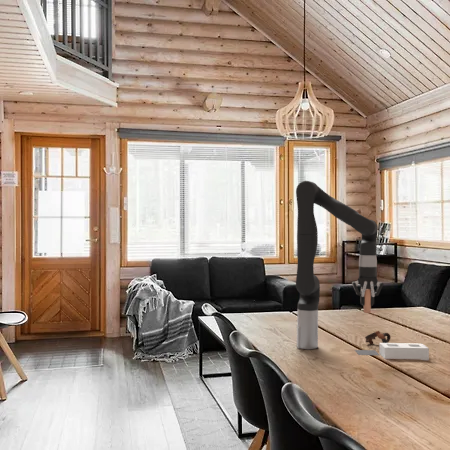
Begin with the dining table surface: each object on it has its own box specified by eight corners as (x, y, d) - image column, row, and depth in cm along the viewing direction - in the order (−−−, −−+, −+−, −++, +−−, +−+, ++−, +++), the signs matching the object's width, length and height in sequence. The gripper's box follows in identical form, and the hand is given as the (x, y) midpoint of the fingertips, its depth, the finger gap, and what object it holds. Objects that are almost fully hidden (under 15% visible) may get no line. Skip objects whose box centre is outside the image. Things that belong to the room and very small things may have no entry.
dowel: (364, 312, 235) (364, 289, 235) (362, 311, 238) (363, 288, 238) (371, 313, 235) (371, 289, 235) (369, 311, 238) (370, 289, 238)
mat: (358, 355, 232) (358, 354, 232) (354, 350, 241) (354, 349, 241) (379, 356, 231) (379, 355, 231) (374, 351, 240) (374, 350, 240)
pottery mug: (378, 351, 243) (369, 334, 245) (367, 356, 251) (359, 339, 254) (398, 342, 248) (389, 325, 250) (387, 347, 256) (379, 331, 258)
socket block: (384, 359, 225) (384, 347, 225) (379, 354, 234) (379, 342, 234) (428, 360, 225) (428, 348, 225) (421, 355, 234) (421, 343, 234)
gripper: (353, 265, 233) (352, 306, 233) (386, 266, 232) (385, 307, 232) (349, 264, 240) (349, 303, 240) (381, 265, 240) (381, 304, 240)
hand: (367, 305), depth 236 cm, fingers closed on dowel, 3 cm apart
